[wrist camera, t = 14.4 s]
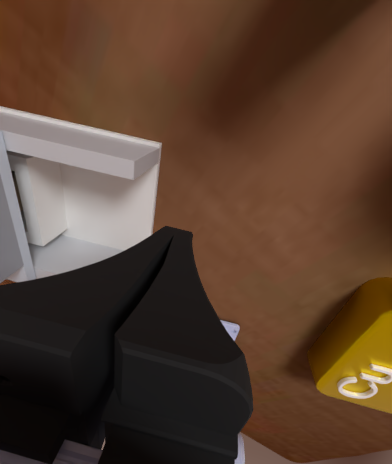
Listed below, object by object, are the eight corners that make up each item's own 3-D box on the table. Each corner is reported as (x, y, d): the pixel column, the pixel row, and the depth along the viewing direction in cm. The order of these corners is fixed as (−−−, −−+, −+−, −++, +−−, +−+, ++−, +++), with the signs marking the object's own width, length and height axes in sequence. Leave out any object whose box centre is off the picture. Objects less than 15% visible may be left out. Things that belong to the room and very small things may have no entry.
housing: (149, 264, 25) (127, 304, 20) (-2, 226, 26) (-60, 255, 21) (161, 143, 19) (134, 156, 14) (-41, 96, 19) (-139, 92, 14)
